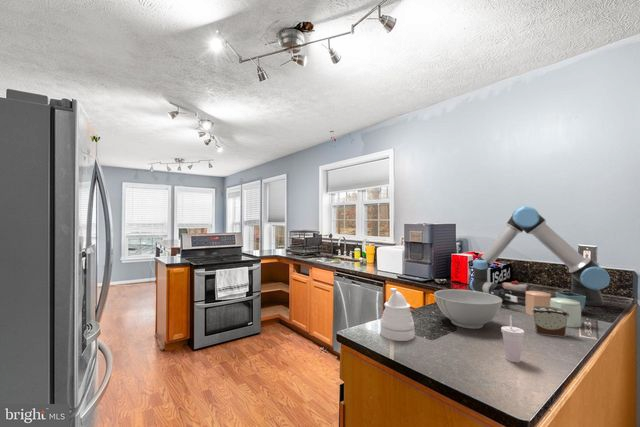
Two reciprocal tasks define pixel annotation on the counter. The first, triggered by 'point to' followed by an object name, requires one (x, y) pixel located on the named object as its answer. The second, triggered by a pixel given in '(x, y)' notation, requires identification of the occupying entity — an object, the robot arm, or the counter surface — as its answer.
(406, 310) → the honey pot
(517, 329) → the smoothie
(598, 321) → the counter surface
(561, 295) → the flower pot
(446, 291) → the decorative bowl
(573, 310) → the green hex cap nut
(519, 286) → the food item
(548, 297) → the octagonal lidded jar
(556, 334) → the food container
